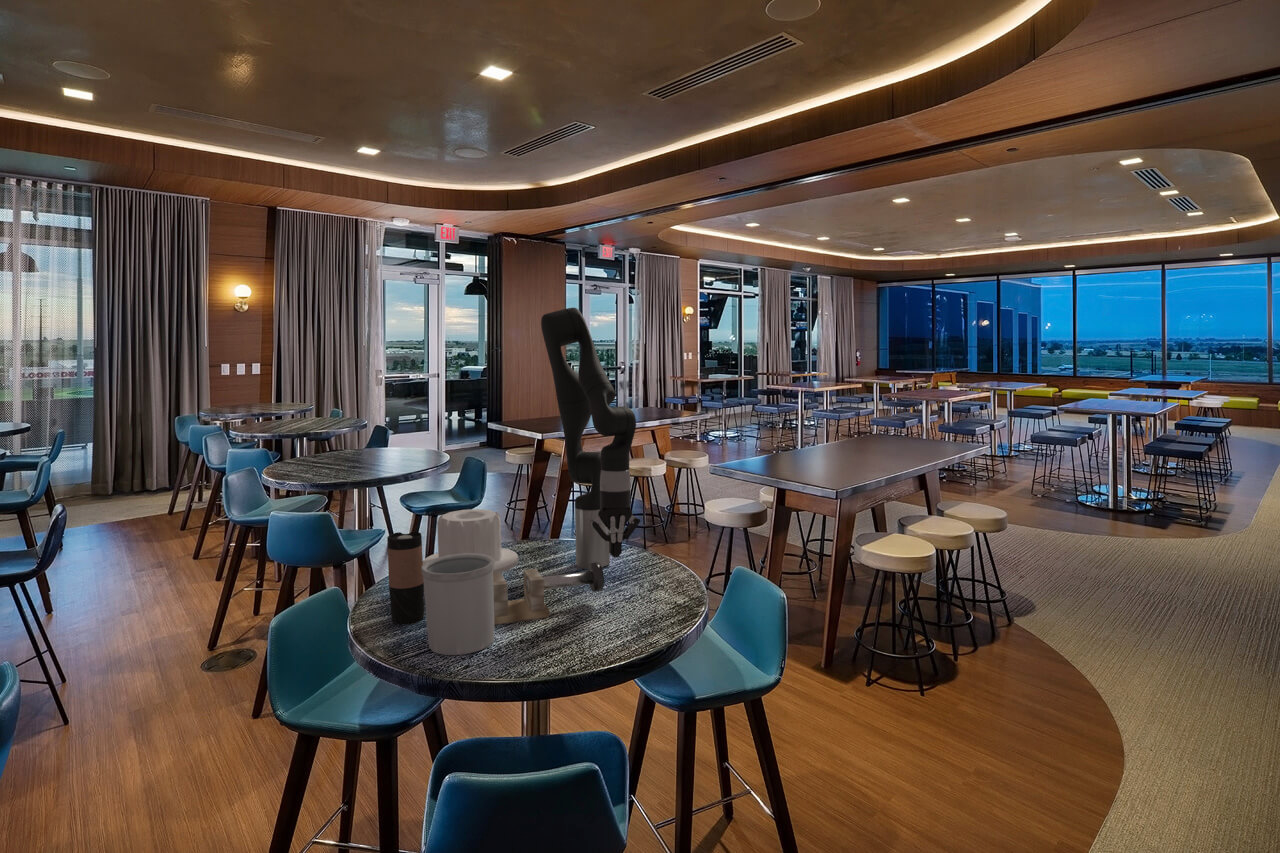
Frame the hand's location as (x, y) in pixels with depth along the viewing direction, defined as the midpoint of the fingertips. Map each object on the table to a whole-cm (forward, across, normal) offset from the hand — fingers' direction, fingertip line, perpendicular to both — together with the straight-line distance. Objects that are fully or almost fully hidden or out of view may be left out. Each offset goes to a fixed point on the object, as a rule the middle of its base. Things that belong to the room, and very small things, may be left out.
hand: (615, 556), depth 170 cm
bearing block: (+11, +25, 0) cm, 27 cm away
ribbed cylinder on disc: (+12, +33, -25) cm, 43 cm away
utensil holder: (+12, +39, +13) cm, 42 cm away
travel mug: (+12, +49, -5) cm, 51 cm away
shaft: (+8, +13, 0) cm, 15 cm away
